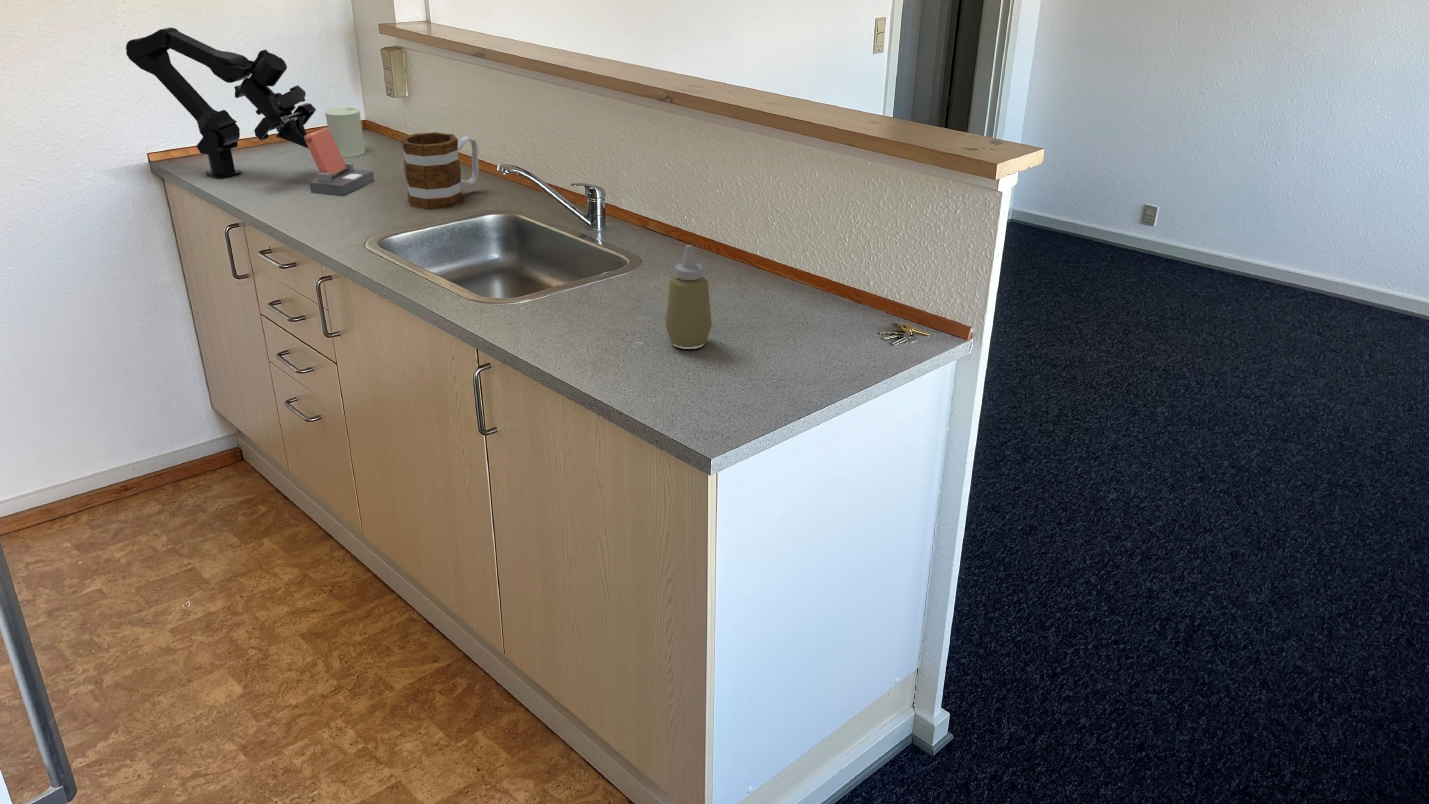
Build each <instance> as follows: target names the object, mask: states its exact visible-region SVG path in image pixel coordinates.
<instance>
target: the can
mask: <svg viewBox="0 0 1429 804" xmlns="http://www.w3.org/2000/svg"><path fill="white" fill-rule="evenodd" d="M324 115H325V119H326V120H325V121H326V124H327V125H326V128H328V129H329V130H330V132H331V134H332V136H333V138H334V141H335V143H336V145H337V147H338V149H339V151H340V154H341V156H342V158H354V157H355V158H356V157H359V156H362V155H364V154H366V148H365V143H364V136H363V135H364V134H363V128H362V122H361V120H362V119H361V111H360V109H359V108H356V107H334V108H329V109H326V110H325V111H324Z"/></svg>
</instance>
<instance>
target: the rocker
mask: <svg viewBox="0 0 1429 804" xmlns="http://www.w3.org/2000/svg"><path fill="white" fill-rule="evenodd" d="M304 139H305V141H306V144H307V146H308V148H309V149H308V148H307V149H308V150H309V152H310V154H311V156H312V158H313V160H314V163H315V165H316V167H317V169H318V171H319V172H323V173H331V175H333V174H335V173H337V172H340V171H342V170H344V169H346V168H347V167H346V165H345V163H346V162H345V160H344V157H342V156H341V154H340V151H339V149H338V147H337V145H336V143H335V141H334V138H333V136H332V134H331V132H330V130H329V129H328V127H327V126H326V127H324V128H320V129H317V130H314V131H313V132H309V133H307V135H305V137H304Z"/></svg>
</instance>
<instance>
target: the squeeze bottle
mask: <svg viewBox="0 0 1429 804" xmlns="http://www.w3.org/2000/svg"><path fill="white" fill-rule="evenodd" d="M695 255H696V254H695V251H694V246H693V245H691V244H687V245H685V249H684V252H683V256H682V260H681V263H678V264H677V265H676V266H675V267H674V268H675V269H674V272H675V273H674V276H673V277H672V278H671V279H670V281H669V287H668V295H667V296H668V297H667V303H666V304H667V305H666V306H667V307H666V315H665V325H664V326H665V329H666V332H667V334H668V338H669V341H670V343H671V342H672V343H673V344H675V345H677V346H682V347H693V346H699V345H702V344H704V343H705V342H707V340H708V337H709V334H710V332H711V329H712V325H713V324H712V313H711V301H710V300H711V299H710V290H709V281H708V279H707V278H705V277H704V276H703V275H704V273H703V272H704V271H703V270H704V267H703V265H701V264H700V263H697V260H696V256H695ZM672 343H671V344H672ZM705 344H706V343H705Z"/></svg>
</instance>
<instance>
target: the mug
mask: <svg viewBox="0 0 1429 804" xmlns="http://www.w3.org/2000/svg"><path fill="white" fill-rule="evenodd" d="M400 142H401V146H402V151H403V161H404V162H403V163H404V164H403V167H404V168H403V169H404V174H405V179H406V186H407V202H408V204H409V206H410V207H412V208H418V209H424V210H436V209H437V210H438V209H447V208H453V207H455V206H457V205H459V204H461V203H464V197H463V193H462V185H465V186H467V185H468V186H471V185H473V184H474V183H476V182H477V181H478V177H479V173H480V172H479V171H480V169H479V146H478V144H477V141H476V139H475V138H474V137H471V136H468V135H465V136H463V137H461V138H460V139H458V138H457V137H456V136H455V134H453V133H446V132H445V133H444V132H438V131H437V132H436V131H434V132H424V133H423V132H422V133H420V132H419V133H412V134H408V135H407V136H404V137H401V138H400ZM467 142H470V144H471V145H470V146H471V167H472V169H471V170H472V174H471V177H470V178H469V179H467V180H466V179H461V175H462V174H461V173H462V172H461V166H460V165H461V164H460V161H459V151H461V150H462V149H463V147H464V145H465V144H466V143H467Z"/></svg>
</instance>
